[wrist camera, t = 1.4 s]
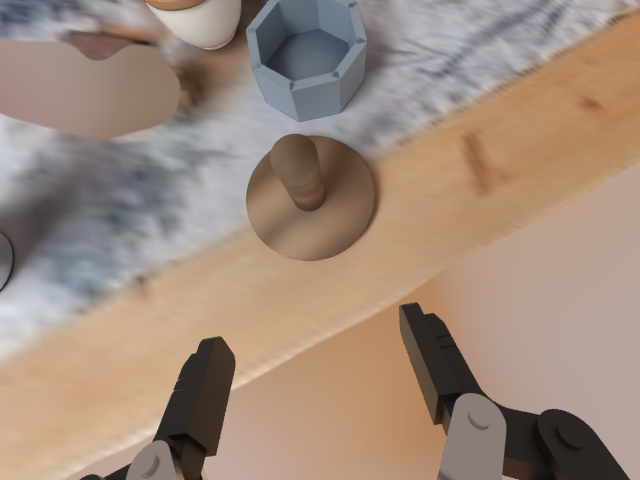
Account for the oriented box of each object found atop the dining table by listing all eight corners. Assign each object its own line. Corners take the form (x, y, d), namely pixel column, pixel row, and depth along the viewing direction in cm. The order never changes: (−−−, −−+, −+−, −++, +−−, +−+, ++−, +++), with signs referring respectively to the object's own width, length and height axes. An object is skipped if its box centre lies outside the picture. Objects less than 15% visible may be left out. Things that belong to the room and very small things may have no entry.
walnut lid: (226, 216, 30) (167, 183, 20) (296, 121, 31) (273, 45, 21) (326, 286, 27) (317, 289, 17) (397, 180, 28) (426, 127, 19)
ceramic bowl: (244, 89, 32) (225, 54, 27) (299, 17, 33) (291, -29, 28) (323, 136, 30) (319, 107, 25) (380, 57, 31) (386, 15, 26)
